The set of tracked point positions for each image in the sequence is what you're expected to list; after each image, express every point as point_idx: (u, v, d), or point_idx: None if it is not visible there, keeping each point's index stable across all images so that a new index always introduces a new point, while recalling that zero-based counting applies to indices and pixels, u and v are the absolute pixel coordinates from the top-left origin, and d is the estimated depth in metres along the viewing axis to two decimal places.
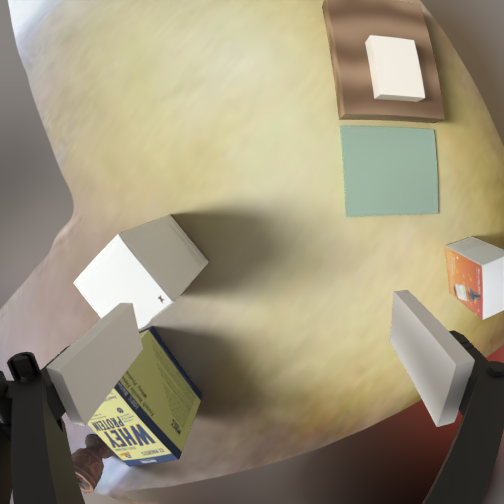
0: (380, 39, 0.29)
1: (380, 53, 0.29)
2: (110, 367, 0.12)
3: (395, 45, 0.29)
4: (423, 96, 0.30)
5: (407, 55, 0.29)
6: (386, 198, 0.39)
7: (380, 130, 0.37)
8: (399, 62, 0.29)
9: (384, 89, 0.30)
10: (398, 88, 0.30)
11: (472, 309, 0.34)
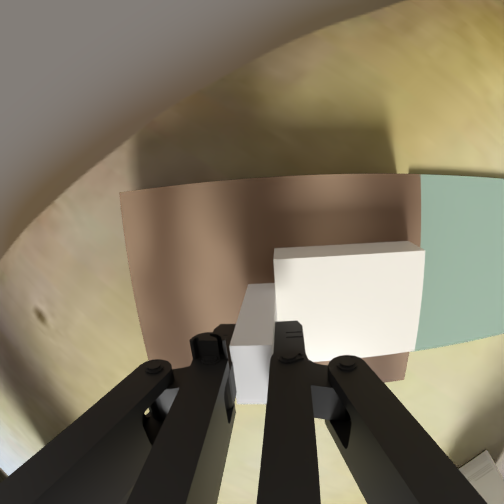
0: None
1: (325, 347, 0.16)
2: None
3: (299, 312, 0.16)
4: (422, 254, 0.15)
5: (323, 285, 0.16)
6: (502, 276, 0.20)
7: None
8: (344, 308, 0.16)
9: (406, 343, 0.16)
10: (405, 314, 0.16)
11: None
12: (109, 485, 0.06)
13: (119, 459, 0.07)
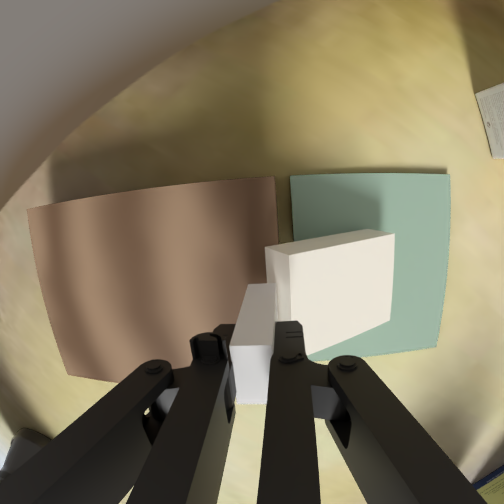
0: None
1: (329, 333, 0.17)
2: None
3: (310, 304, 0.16)
4: (392, 237, 0.18)
5: (328, 274, 0.17)
6: (422, 284, 0.21)
7: None
8: (343, 292, 0.17)
9: (384, 314, 0.19)
10: (383, 289, 0.19)
11: None
12: (109, 486, 0.06)
13: (119, 459, 0.07)
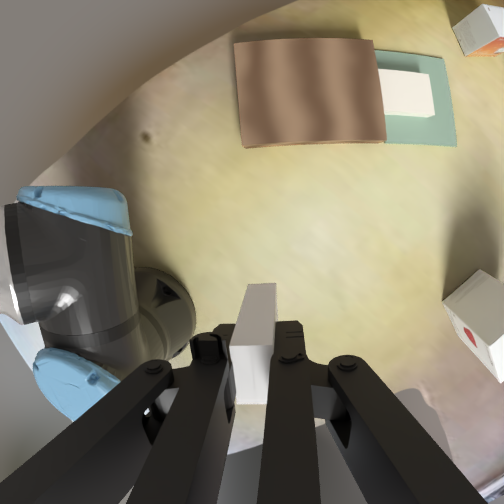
0: (384, 101, 0.34)
1: (399, 105, 0.34)
2: None
3: (387, 88, 0.34)
4: (428, 75, 0.33)
5: (394, 79, 0.34)
6: (441, 107, 0.36)
7: None
8: (403, 89, 0.34)
9: (430, 110, 0.34)
10: (427, 97, 0.34)
11: None
12: (109, 486, 0.06)
13: (119, 459, 0.07)
